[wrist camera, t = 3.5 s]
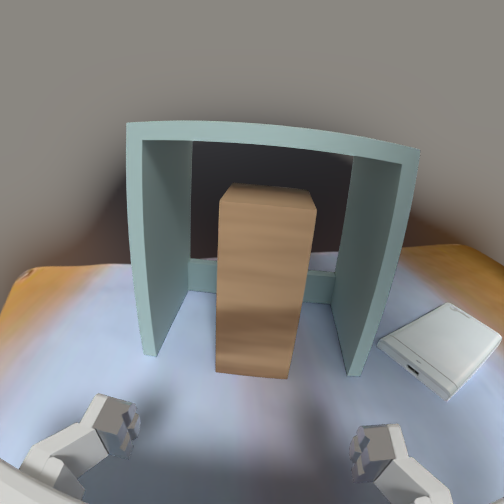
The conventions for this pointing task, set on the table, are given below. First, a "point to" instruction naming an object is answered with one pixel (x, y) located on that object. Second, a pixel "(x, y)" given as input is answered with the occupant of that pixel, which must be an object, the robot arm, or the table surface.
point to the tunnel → (205, 271)
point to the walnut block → (261, 277)
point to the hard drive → (442, 348)
